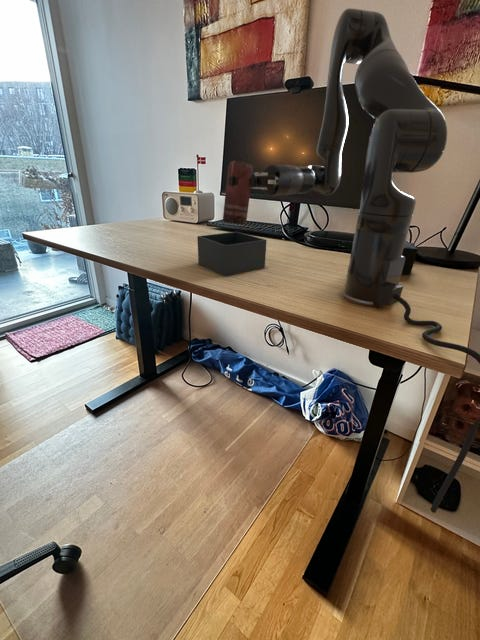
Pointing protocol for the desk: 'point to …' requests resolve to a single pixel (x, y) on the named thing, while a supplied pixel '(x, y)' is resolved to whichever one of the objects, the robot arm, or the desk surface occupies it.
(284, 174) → the robot arm
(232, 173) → the can
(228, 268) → the bin
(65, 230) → the desk surface
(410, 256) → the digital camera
